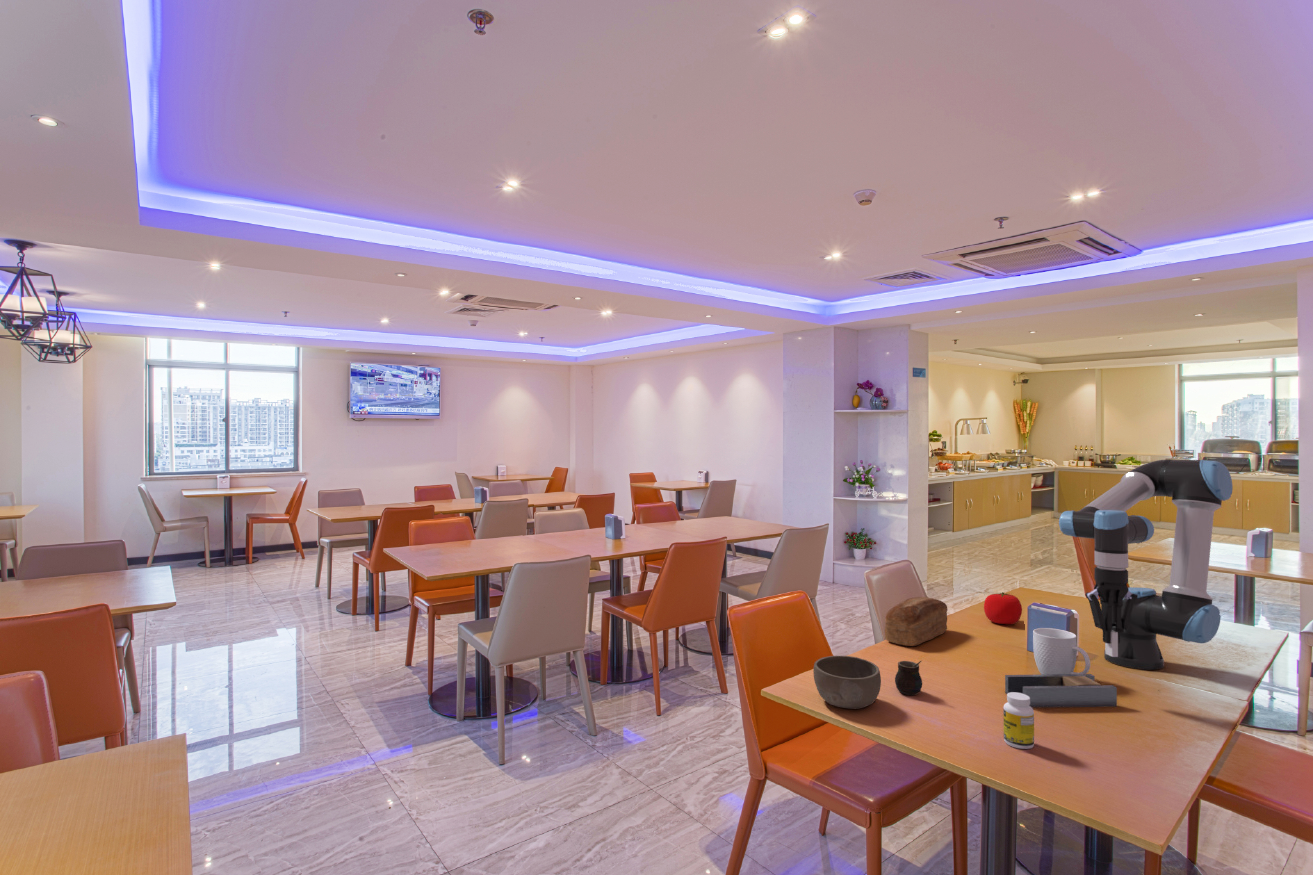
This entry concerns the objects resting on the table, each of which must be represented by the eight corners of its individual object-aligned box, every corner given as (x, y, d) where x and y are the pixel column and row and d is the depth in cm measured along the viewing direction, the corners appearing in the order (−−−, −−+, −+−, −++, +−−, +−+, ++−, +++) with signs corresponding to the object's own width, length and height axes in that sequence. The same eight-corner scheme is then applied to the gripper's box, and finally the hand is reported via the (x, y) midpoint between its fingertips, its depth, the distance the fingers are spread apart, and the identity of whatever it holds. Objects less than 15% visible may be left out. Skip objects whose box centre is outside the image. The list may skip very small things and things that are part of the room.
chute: (1091, 692, 182) (1090, 674, 182) (1116, 706, 172) (1116, 687, 172) (1005, 693, 181) (1005, 674, 181) (1026, 707, 171) (1026, 688, 171)
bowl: (846, 721, 164) (846, 681, 164) (799, 697, 179) (799, 660, 180) (895, 708, 172) (895, 669, 172) (847, 686, 187) (846, 651, 188)
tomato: (991, 627, 246) (991, 596, 246) (979, 617, 259) (979, 588, 259) (1028, 628, 243) (1027, 597, 244) (1014, 618, 257) (1014, 589, 257)
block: (1085, 692, 180) (1085, 676, 180) (1100, 701, 174) (1100, 684, 174) (1062, 692, 180) (1062, 676, 180) (1077, 701, 173) (1077, 684, 174)
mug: (1098, 683, 188) (1098, 637, 189) (1080, 691, 182) (1080, 644, 183) (1044, 668, 201) (1044, 625, 201) (1026, 675, 195) (1025, 631, 195)
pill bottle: (997, 738, 154) (997, 691, 154) (1022, 737, 154) (1022, 690, 154) (1014, 750, 148) (1014, 701, 148) (1040, 749, 148) (1039, 700, 148)
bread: (952, 632, 240) (952, 595, 240) (913, 650, 219) (913, 610, 219) (920, 625, 249) (920, 590, 249) (879, 642, 228) (879, 604, 228)
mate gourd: (901, 685, 187) (901, 650, 187) (927, 693, 182) (928, 657, 182) (890, 692, 182) (890, 656, 182) (916, 700, 177) (917, 663, 177)
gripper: (1124, 565, 181) (1125, 650, 181) (1078, 565, 181) (1078, 650, 180) (1145, 570, 173) (1145, 659, 173) (1096, 570, 173) (1097, 659, 173)
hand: (1111, 655), depth 177 cm, fingers closed
